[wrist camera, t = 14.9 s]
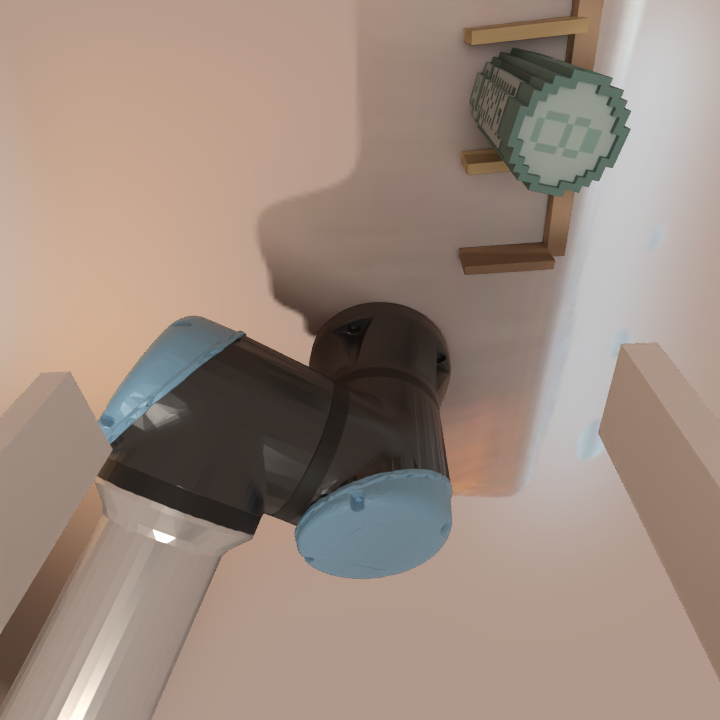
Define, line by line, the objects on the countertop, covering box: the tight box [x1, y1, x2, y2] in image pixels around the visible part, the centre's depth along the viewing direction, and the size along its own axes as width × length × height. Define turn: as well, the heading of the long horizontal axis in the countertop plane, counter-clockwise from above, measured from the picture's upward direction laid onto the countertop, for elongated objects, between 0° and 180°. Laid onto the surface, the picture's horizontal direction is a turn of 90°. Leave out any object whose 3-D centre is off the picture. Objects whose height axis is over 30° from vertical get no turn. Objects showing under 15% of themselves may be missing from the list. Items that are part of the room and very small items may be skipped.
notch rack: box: [459, 0, 604, 275], centre depth 37 cm, size 27×9×4 cm, turn 6°
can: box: [470, 48, 631, 197], centre depth 33 cm, size 6×6×15 cm
